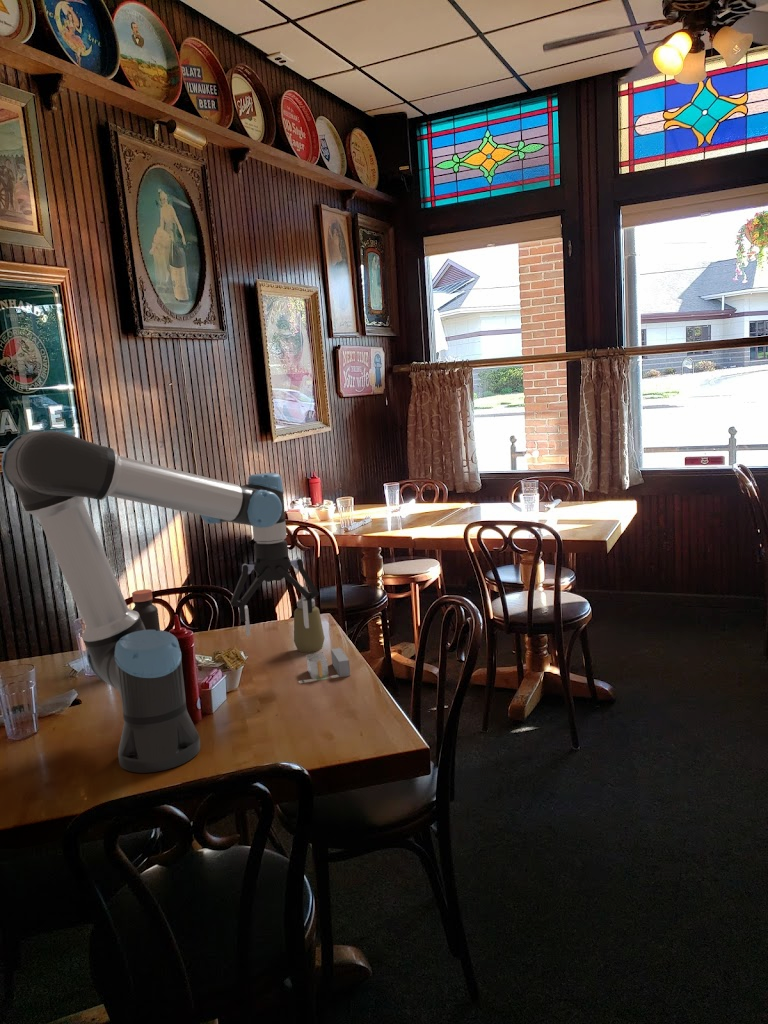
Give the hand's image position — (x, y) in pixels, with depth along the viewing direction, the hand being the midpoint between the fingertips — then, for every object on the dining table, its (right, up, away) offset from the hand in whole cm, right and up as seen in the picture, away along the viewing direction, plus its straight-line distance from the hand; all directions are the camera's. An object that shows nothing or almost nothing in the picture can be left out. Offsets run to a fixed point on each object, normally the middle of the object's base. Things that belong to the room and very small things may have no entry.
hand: (277, 630), depth 177 cm
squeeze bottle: (+5, -10, +24) cm, 26 cm away
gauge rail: (+8, -12, +4) cm, 15 cm away
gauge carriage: (+9, -11, +4) cm, 15 cm away
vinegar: (-37, -13, +24) cm, 46 cm away
